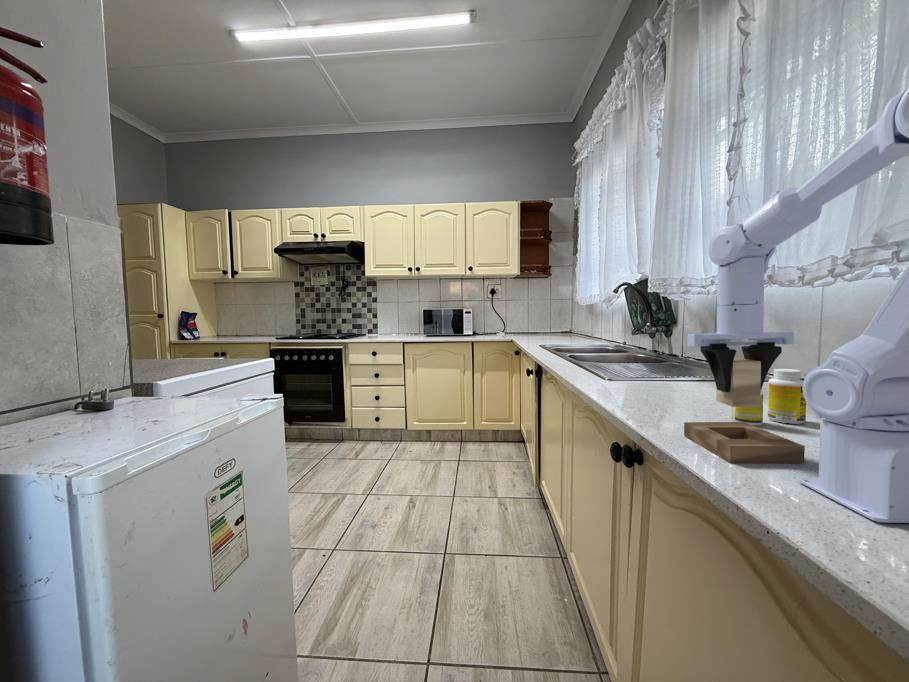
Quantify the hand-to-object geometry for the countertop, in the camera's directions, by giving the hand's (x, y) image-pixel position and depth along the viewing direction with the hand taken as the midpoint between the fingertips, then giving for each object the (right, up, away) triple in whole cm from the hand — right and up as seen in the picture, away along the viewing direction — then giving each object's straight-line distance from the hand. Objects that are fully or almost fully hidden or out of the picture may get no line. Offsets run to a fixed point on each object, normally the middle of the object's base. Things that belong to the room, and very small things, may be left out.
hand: (738, 390), depth 57 cm
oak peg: (0, -2, 0) cm, 2 cm away
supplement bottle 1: (+12, -8, +14) cm, 20 cm away
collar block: (0, -9, +1) cm, 9 cm away
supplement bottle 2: (+20, -8, +14) cm, 26 cm away
